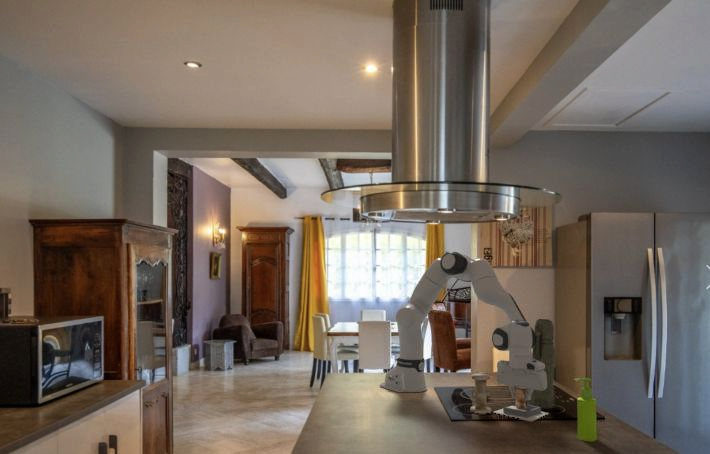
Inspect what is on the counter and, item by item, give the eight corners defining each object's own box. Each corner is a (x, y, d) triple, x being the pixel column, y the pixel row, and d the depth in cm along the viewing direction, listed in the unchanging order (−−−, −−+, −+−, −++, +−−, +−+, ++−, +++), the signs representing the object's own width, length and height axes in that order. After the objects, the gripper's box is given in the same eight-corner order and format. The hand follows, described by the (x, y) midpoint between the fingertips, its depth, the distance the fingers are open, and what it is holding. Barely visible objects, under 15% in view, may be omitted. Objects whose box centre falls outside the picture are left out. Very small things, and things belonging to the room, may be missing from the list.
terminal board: (493, 413, 229) (493, 406, 229) (511, 407, 239) (511, 400, 239) (531, 421, 218) (531, 414, 218) (549, 414, 227) (548, 407, 228)
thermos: (526, 406, 238) (528, 319, 240) (536, 401, 248) (538, 317, 249) (548, 410, 233) (550, 321, 234) (557, 405, 242) (559, 319, 244)
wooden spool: (466, 411, 232) (466, 375, 232) (477, 407, 237) (477, 372, 238) (484, 415, 226) (483, 378, 227) (495, 411, 232) (494, 375, 232)
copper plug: (513, 406, 228) (513, 388, 229) (519, 404, 231) (518, 386, 232) (523, 408, 225) (523, 390, 226) (529, 406, 228) (529, 388, 229)
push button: (491, 395, 258) (491, 372, 259) (487, 398, 254) (487, 374, 254) (477, 393, 262) (477, 371, 262) (472, 396, 257) (472, 373, 258)
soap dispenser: (571, 436, 200) (571, 376, 201) (591, 435, 200) (590, 376, 201) (579, 441, 194) (578, 380, 195) (600, 441, 194) (598, 380, 195)
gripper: (493, 360, 234) (493, 395, 234) (541, 367, 220) (541, 404, 219) (501, 358, 239) (501, 392, 238) (549, 364, 224) (549, 401, 224)
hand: (521, 398), depth 228 cm, fingers closed on copper plug, 4 cm apart
